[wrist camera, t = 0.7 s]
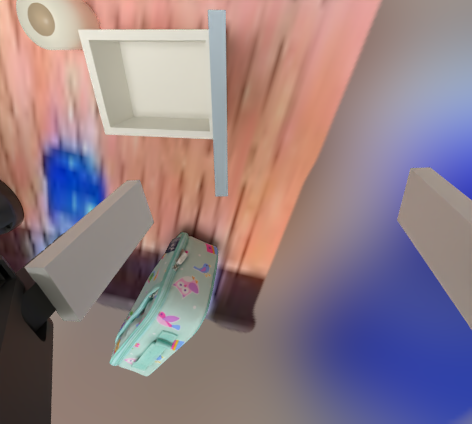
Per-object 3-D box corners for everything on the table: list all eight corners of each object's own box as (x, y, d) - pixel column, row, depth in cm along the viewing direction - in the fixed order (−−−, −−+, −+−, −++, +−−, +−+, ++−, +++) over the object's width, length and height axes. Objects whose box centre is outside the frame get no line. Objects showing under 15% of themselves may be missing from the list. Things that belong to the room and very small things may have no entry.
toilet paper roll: (67, 49, 38) (28, 49, 32) (52, -3, 35) (6, -14, 29) (105, 50, 38) (72, 50, 32) (93, -3, 34) (54, -15, 28)
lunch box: (186, 214, 51) (138, 302, 33) (229, 239, 53) (206, 335, 35) (142, 286, 65) (91, 376, 47) (178, 303, 67) (142, 396, 49)
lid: (215, 196, 21) (227, 196, 21) (207, 9, 14) (225, 10, 15) (218, 140, 34) (225, 139, 34) (214, 29, 28) (224, 29, 28)
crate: (132, 121, 43) (105, 134, 36) (114, 33, 36) (77, 29, 30) (227, 124, 41) (217, 139, 34) (225, 33, 35) (214, 29, 28)
